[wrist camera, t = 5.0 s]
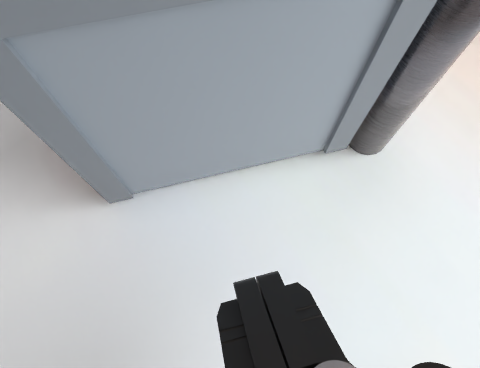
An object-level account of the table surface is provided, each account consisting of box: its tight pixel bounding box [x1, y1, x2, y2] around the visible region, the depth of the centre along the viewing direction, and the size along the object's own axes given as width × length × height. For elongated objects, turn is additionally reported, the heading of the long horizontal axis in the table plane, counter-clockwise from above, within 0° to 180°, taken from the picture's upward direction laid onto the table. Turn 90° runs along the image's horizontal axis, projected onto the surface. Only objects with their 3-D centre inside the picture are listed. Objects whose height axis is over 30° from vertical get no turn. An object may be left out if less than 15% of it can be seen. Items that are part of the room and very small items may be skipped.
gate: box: [0, 0, 437, 203], centre depth 18 cm, size 17×2×16 cm, turn 104°
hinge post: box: [349, 0, 480, 155], centre depth 18 cm, size 3×3×18 cm
